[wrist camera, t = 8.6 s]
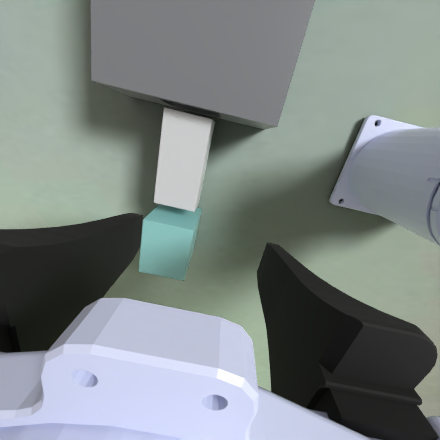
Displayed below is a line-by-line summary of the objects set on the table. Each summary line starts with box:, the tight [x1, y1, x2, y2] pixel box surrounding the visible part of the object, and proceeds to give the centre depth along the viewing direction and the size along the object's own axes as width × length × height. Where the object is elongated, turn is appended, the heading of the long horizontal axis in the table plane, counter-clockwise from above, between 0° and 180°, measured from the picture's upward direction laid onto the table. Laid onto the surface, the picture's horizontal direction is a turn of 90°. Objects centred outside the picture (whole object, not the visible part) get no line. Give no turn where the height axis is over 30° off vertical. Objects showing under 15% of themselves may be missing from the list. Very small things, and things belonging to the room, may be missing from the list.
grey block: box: [91, 0, 315, 129], centre depth 14 cm, size 12×10×5 cm
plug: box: [139, 108, 215, 281], centre depth 18 cm, size 4×13×5 cm, turn 167°
